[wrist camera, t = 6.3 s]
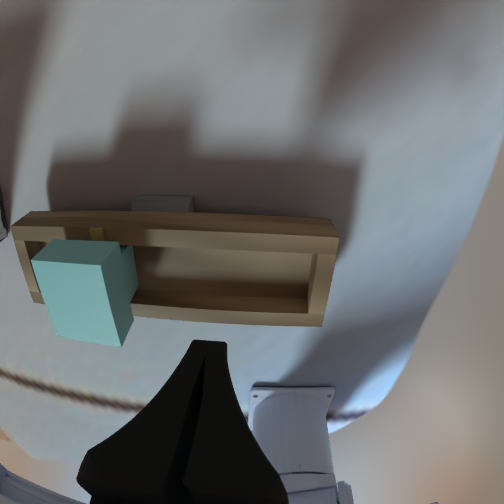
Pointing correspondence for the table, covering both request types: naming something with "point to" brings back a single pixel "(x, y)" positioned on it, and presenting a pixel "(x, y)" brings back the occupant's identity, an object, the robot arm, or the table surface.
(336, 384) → the table surface
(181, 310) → the wooden tray
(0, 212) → the candy bar box
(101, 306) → the block
